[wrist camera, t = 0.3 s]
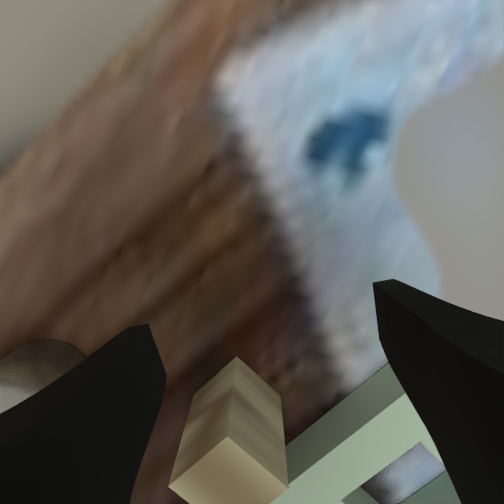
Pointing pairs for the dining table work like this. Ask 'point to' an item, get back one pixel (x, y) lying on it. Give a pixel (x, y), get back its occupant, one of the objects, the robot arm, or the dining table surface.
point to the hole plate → (360, 448)
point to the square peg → (232, 442)
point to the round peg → (34, 369)
